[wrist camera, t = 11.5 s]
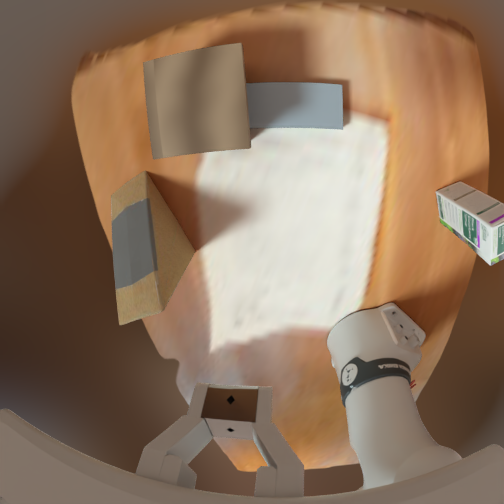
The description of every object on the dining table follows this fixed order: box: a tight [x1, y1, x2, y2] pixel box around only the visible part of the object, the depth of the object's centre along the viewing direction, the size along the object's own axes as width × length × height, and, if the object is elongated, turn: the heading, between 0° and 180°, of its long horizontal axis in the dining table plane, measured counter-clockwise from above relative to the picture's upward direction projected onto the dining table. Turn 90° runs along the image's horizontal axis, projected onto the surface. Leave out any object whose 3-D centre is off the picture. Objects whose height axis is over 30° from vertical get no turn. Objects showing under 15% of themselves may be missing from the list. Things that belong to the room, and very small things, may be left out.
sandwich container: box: [111, 171, 195, 325], centre depth 34 cm, size 9×15×15 cm, turn 27°
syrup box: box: [436, 182, 504, 265], centre depth 27 cm, size 6×6×14 cm
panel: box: [246, 82, 343, 130], centre depth 31 cm, size 20×6×2 cm, turn 93°
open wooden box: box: [143, 43, 251, 159], centre depth 27 cm, size 10×11×10 cm
